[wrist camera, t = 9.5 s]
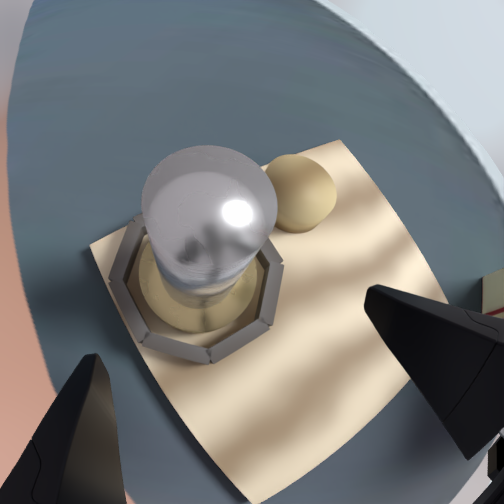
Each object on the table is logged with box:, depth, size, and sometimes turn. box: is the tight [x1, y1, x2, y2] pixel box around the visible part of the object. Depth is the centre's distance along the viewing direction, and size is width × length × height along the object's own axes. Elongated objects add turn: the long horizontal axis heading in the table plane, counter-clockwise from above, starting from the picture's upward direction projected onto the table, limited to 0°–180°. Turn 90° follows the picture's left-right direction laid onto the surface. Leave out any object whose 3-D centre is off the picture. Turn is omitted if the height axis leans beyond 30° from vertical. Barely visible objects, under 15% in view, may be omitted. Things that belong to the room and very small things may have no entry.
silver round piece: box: [139, 145, 278, 334], centre depth 15 cm, size 8×8×11 cm
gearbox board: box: [90, 140, 449, 504], centre depth 21 cm, size 23×26×4 cm
